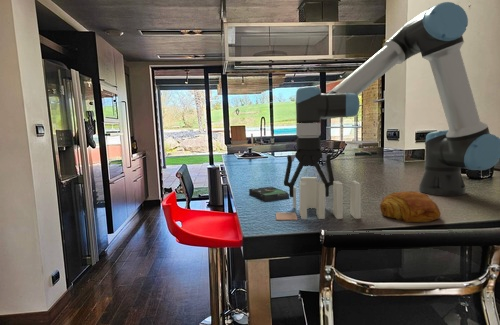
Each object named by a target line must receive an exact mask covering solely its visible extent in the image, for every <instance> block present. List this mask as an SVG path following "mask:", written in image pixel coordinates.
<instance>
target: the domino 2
mask: <svg viewBox="0 0 500 325" xmlns="http://www.w3.org/2000/svg"><path fill="white" fill-rule="evenodd" d="M316 181H318V177H317V176H309V177H308V176H303V177H302V176H301V177H300V182H305V183H306V184H307V210H308V209H309V208H311V210H313V209H312V208H315V209H316Z"/></svg>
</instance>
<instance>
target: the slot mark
mask: <svg viewBox="0 0 500 325" xmlns="http://www.w3.org/2000/svg"><path fill="white" fill-rule="evenodd" d="M275 218H276V221H298V216H297V214H296V212H275Z"/></svg>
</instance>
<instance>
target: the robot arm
mask: <svg viewBox="0 0 500 325" xmlns="http://www.w3.org/2000/svg"><path fill="white" fill-rule="evenodd" d="M468 24H469V19H468V15H467V13H466V11H465V9H464V8H463V7H462V6H461V5H459V4H456V3H454V2H451V1H443V2H441V3H438V4H435V5H433V6H431V7H429V8H428V9H427V10H424V11H423V12H421V13H419V14H418V15H416V16H415V17H413V18H411V19H410V20H408V21H407V22H406V23H405V24H404V25H402V27H400V28H399V29H398V30H397V31H395V33H394V34H393V35H392V36H391V37H389V39H387V40H386V41H385V42H384V43H383V47H382V48H381V49H380V50H378V51H377V52H376V53H375V54H374V55H372V56H370V58H369V59H367V60H366V61H365V62H364V63H362V64H361V65H360V66H359V67H357V68H356V69H355V70H354V71H353V72H352V73H350V74H349V75H347V77H346V78H344V79H343V80H342V81H341V82H339V83H338V84H337V85H335V86H334V87H333V88H332V89H331V90H330V91H329V92H326V93H324V92H323V93H322V92H321V88H320V87H319V86H303V87H299V88H297V90H296V92H295V94H296V95H295V96H296V97H295V114H296V115H295V116H296V117H295V118H296V123H295V124H296V126H295V127H296V136H297V138H296V151H295V154H288V155H286V159H287V160H286V161H287V165H286V170H285V175H284V180H283V185H284V186H285V187H288V188H289V190H288V194H289V198H292V207H293V208H294V209H296V208H297V187H296V186H295V184H296V182H297V180H298V178H299V175H300V173H301V172H302V170H303V168H305V167H314V168H315V169H316V172H317V174H318V175H319V178H320V179H321V181H322V182H323V183H324V184H325V209H326V204H327V201H326V197H329V196H330V187H331V186H333V181H335V179H334V178H335V177H334V173H333V169H332V164H331V163H332V162H331V159H332V158H331V157H332V155H331V154H330V153H322V150H321V146H322V144H321V138H320V136H321V135H322V134H321V122H322V121H321V120H328V119H337V118H352V117H356V116H357V115H358V113H359V110H360V99H359V96H360V94H361V93H362V92H364V91H365V90H366V89H368V88H369V87H370V86H371V85H373V84H374V83H375V82H376V81H377V80H379V79H380V78H381V77H382V76H384V75H385V74H386V73H387V72H389V71H390V70H391V69H392V68H393V67H395V66H396V65H400V64H401V65H402V64H403V63H404V62H405V61H407V60H408V59H410V58H412V57H413V56H416V55H418V54H421V57H422V59H425V60H427V61H428V62H429V65H430V68H431V72H432V74H433V79H434V81H435V84H436V89H437V93H438V95H439V98H440V101H441V106H442V109H443V111H444V115H445V118H446V122H447V125H448V128H449V129H448V130H445V129H444V130H437V131H431V132H429V133H427V134H426V136H425V142H424V145H425V146H424V147H425V150H424V172H423V174H422V178H421V179H420V182H419V185H418V191H419V192H420V193H422V194H426V195H433V196H434V195H435V196H451V197H452V196H453V197H455V196H456V197H457V196H463V195H465V194H467V193H466V189H467V188H466V184H465V181H464V179H463V176H462V172H461V170H462V169H467V170H471V171H476V170H477V171H486V170H489V169H491V168H493V167H495V165H497V164H498V163H499V160H500V137H499V136H496V135H495V134H492V133H491V132H490V129H489V126H488V124H487V123H484V122H482V121H481V119H480V116H479V111H478V109H477V106H476V102H475V98H474V94H473V91H472V88H471V84H470V80H469V77H468V74H467V71H466V67H465V63H464V58H463V55H462V52H461V48H462V46H463V45H464V43H465V41H464V37H463V35H464V34H465V32H466V30H467V27H468ZM295 159H296V160H297V161H298V163H297V166H296V169H295V171H294V173H293V175H292V178H291V179H290V176H291V171H292V170H291V169H292V165H293V162H294V161H295ZM321 159H322V160H323V161H324V164H325V167H326V173H327V177H328V180H327V178H326V176H325V173H324V171H323V170H322V168H321V165H320V164H319V162H320V161H321Z"/></svg>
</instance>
